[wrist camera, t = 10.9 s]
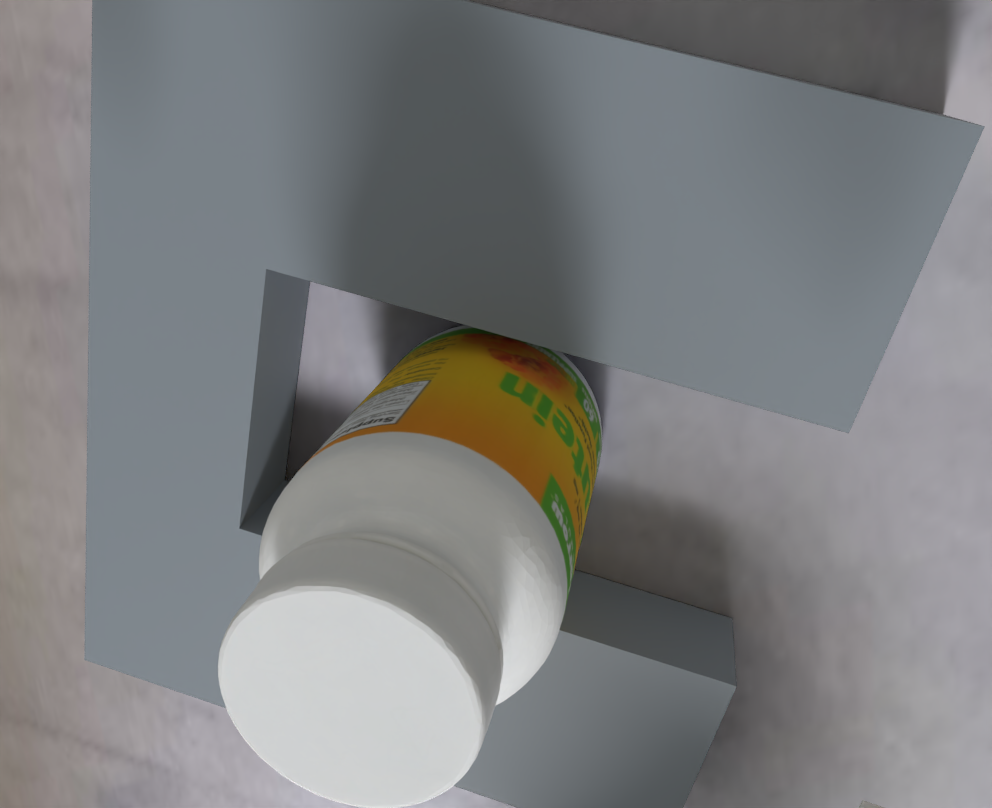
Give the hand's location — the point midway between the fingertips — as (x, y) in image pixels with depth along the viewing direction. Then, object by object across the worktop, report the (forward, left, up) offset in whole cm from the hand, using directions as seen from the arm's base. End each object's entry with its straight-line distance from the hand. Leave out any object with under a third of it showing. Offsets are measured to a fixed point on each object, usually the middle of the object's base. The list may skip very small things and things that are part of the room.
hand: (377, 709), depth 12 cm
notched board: (+1, 0, -9) cm, 9 cm away
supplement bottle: (0, 0, -10) cm, 10 cm away
